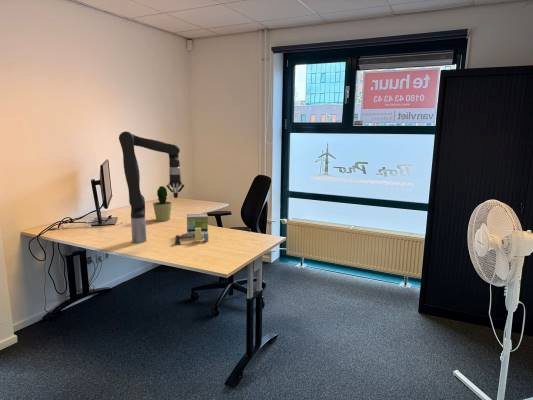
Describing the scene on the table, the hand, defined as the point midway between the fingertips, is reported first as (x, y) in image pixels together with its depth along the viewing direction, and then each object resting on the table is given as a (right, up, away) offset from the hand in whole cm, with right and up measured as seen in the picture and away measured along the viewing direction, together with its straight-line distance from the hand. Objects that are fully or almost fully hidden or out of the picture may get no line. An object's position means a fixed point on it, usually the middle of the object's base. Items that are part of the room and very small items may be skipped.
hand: (175, 197), depth 264 cm
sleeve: (+17, -29, -5) cm, 34 cm away
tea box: (+13, -27, +14) cm, 33 cm away
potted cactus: (-25, -19, +57) cm, 65 cm away
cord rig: (+13, -31, -6) cm, 34 cm away
